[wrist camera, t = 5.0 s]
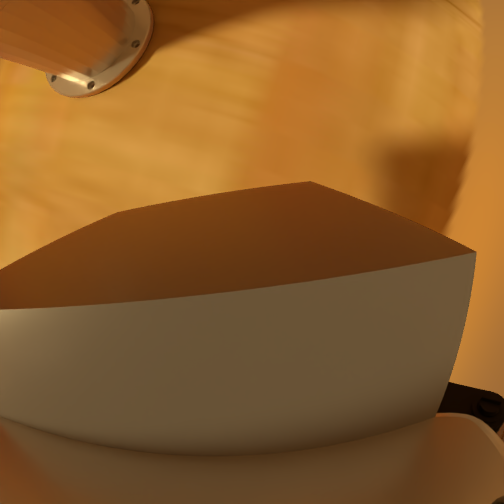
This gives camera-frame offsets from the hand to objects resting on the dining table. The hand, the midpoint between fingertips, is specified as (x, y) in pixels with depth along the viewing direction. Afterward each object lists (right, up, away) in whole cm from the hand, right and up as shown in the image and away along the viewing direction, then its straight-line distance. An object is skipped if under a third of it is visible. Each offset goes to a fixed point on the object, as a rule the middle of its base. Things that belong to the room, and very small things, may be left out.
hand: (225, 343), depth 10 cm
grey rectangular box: (0, +1, +2) cm, 2 cm away
